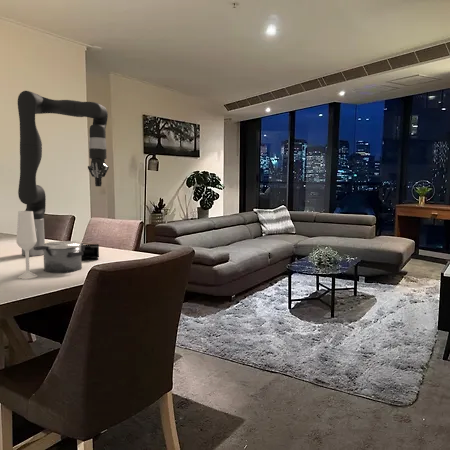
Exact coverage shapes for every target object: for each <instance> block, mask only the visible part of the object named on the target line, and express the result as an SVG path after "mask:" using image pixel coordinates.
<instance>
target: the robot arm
mask: <svg viewBox="0 0 450 450" xmlns="http://www.w3.org/2000/svg"><path fill="white" fill-rule="evenodd" d="M17 109H18V120H19V159H20V160H19V181H18V191H17V194H18V199H19V200H20V202H21V203H22V204H24V205H25V207H26V208H25V210H24V211H33V216H34V223H35V231H36V238H37V242H36V244H35V246H34V247H38V246H43V244H45V240H46V239H45V213H46V204H47V203H46V202H47V201H46V196H47V195H46V191H45V189H44V188H43V186H41V185H38V184H37V172H38V168H39V166H40V164H41V161H42V156H43V143H42V139H41V136H40V133H39V131H38V128H37V125H36V124H37V123H36V115H41V114H42V115H43V114H57V115H63V116H67V117H76V118H89V119H92V124H91V125H90V126H89V130H88V131H89V141H88V149H89V150H88V154H89V155H88V157H89V159H90V165H88V166H87V170H88V171H89V173H90V175H91V177H93V178H94V183H95V184H94V185H95V187H102V184H103V182H102V179H103V178H105V177H106V175H107V172H108V170H109V168H110V166H109V165H107V164H106V161H105V160H107V136H106V129H107V124H108V116H109V115H108V110H107V108H106V106H104V105H102V104H100V103H99V102H94V101H80V100H73V99H51V98H48V97H44V96H42V95H41V94H37V93H35V92H33V91H30V90H23V91H21V92H20V93H19V94H18V97H17ZM34 247H33V248H32V249H30V250H29V257H31V256H34V257H36V256H42V255H43V256H44V251H43V250H34ZM21 255H22V256H25V250H23V249H22V248H21Z"/></svg>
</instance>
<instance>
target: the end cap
mask: <svg viewBox="0 0 450 450" xmlns="http://www.w3.org/2000/svg"><path fill="white" fill-rule="evenodd" d="M84 245H85V251H83V255H81V257H82V262H91V261H99V257H100V251H99V250H100V249H99V246H100V245H99V243H96V244H95V243H93V244H91V243H90V244H84Z"/></svg>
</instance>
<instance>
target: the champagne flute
mask: <svg viewBox="0 0 450 450" xmlns="http://www.w3.org/2000/svg"><path fill="white" fill-rule="evenodd" d="M16 227H17V229H16V239H15V240H16V244H17V245H18V247H19V248H21V250H22V249H23V250H25V255H24V256H25V271H24V272H23V273H22V274H20V275H19V276H17V278H18V279H20V278H22V279H23V280H26V279H34V278H37V277H39V276H38V274H37V273H36V274H35V273H34V272H32V271H30V256H29V250H30V249H32V248H33V247H34V246H35V244H36V242H37V238H36V231H35V223H34V216H33V211H25V210H22V211H21V210H19V211H18V212H17V226H16Z"/></svg>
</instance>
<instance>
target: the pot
mask: <svg viewBox="0 0 450 450" xmlns="http://www.w3.org/2000/svg"><path fill="white" fill-rule="evenodd" d="M85 245H86V244H83V245H81V247H79V248H73V249H62V250H52V249H44V250H43V251H44V254H43V271H44V272H46V273H50V274H64V273H65V274H66V273H73V272H77V271H81V270H82V268H83V266H82V264H83V263H82V262H83V261H82V257H81V255H83V251H85Z"/></svg>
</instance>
